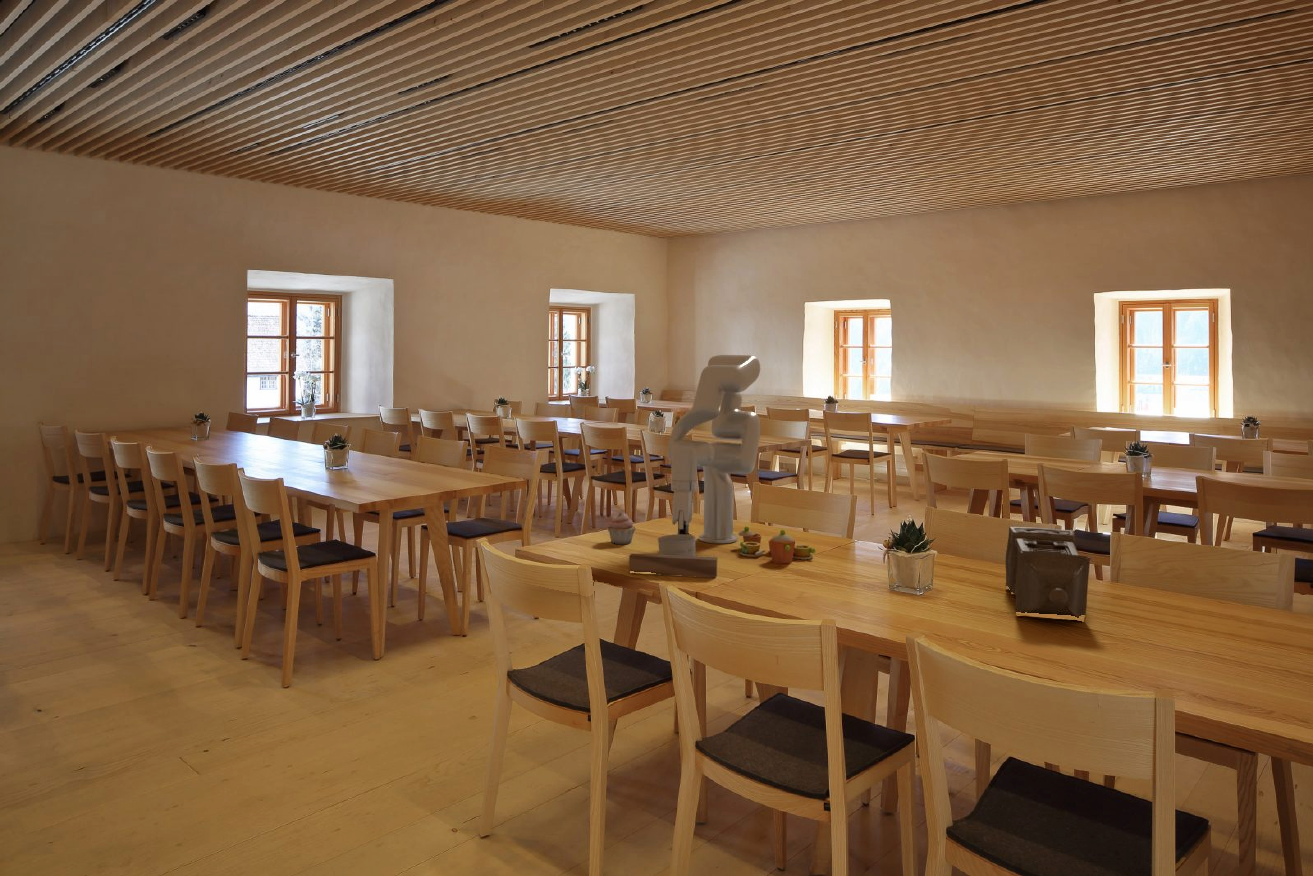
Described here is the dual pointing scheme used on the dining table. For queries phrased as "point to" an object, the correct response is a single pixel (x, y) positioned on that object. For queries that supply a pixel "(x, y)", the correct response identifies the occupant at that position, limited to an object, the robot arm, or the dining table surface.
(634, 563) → the block
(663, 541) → the grey rounded block
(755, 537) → the toy tea set
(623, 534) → the cupcake
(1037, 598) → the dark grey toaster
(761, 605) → the dining table surface
